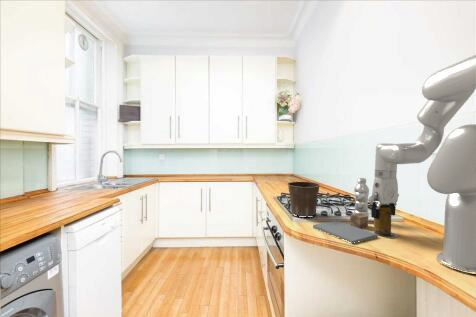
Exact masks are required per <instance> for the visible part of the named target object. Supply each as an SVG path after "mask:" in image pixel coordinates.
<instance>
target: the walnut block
mask: <svg viewBox="0 0 476 317" xmlns="http://www.w3.org/2000/svg"><path fill="white" fill-rule="evenodd" d="M349 225H351V226H354V227H357V228H360V229H366V228H369V218H368V216H366V215H362V214H359V213H357V214H354V213H352V214H349Z"/></svg>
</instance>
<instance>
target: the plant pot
mask: <svg viewBox="0 0 476 317" xmlns="http://www.w3.org/2000/svg"><path fill="white" fill-rule="evenodd" d="M286 185H287V186H288V187H287V188H288V192H289V203H290V214H291V213H292V214H295V215H298V216H306V217H308V216H313V215H314V214H315V213H317V204H318V194H319V193H320V192H319V190H320V187H321V184H320V183H318V182H313V181H292V182H290V181H289V182H287V184H286ZM292 214H291V215H292ZM298 216H297V217H298Z"/></svg>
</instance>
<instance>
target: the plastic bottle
mask: <svg viewBox="0 0 476 317" xmlns="http://www.w3.org/2000/svg"><path fill="white" fill-rule="evenodd" d="M366 183H367V178H366V177H365V178H364V177H358V178H357V183H356V185H355V187H354V188H353V189H354V199H355V200H354V202H355V203H354V211H353V214H357V213H359V214H362V215H366V216H368V219H369V217H370V212H369V206H368V202H369V195H370V188H369V187H368V185H367V184H366Z"/></svg>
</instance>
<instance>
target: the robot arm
mask: <svg viewBox="0 0 476 317" xmlns="http://www.w3.org/2000/svg"><path fill="white" fill-rule="evenodd" d="M475 90H476V54H474V55H472V56H469V57H467V58H465V59H463V60H460V61H459V62H455V63H454V64H452V65H448V66H447V67H444V68H442V69H439V70H437V71H436V72H433V73H432V74H431V75H430V76H429V77H428V78H426V80H425V81H424V83H423V85H422V88H421V93H422V97H424V99H426V100H427V101H426V103H424V105H423V107H422V108H421V109H420V110H419V112H418V113H417V116H416V118H417V120H418V122H420V124H421V125H423V130H422V132H421V134H420V136H419V137H418V139H416V140H415V142H412V143H378V144H376V146H375V156H374V157H375V160H374V162H375V164H374V179H373V182H372V183H373V184H372V190H371V191H372V192H371V195H370V197H368V202H369V205H370V208H371V214H370V215H371V218H373V219H374V218H376V219H380V209H379V208H380V206H381V204H384V205H385V204H389V205H390V206H391V207H390V209H391V216H396V210H397V209H396V207H397V203H398V201H399V197H400V193H399V186H398V185H399V184H398V178H397V176H398V175H397V171H398V165H409V164H421V163H423V162H425V161H427V159H429V158H430V157H431V156H432V155H433V154H434V152H436V150H437V149H438V151H437V153H436V155H435V156H434V158H433V160H432V162H431V163H430V166H429V168H428V169H427V173H426V181H427V183H428V186H429V187H430V188H431V189H432V190H433V191H435V192H436V193H438V194H443V195H447V196H446V199H445V206H444V225H443V226H444V227H443V250H442V252H439V253H437V254H436V260H437V259H438V260H439V261H440V262H442V263H444V264H446V265H448V266H451V267H453V268H456V269H459V270H462V271H467V272H475V273H476V123H474V124H470V123H469V124H464V125H460V126H459V127H457V128H455V129H453V130H452V131H451V132H449V133H448V134H447V136H446V137H445V139H444V140H443V138H444V134H445V127H446V126H447V125H448V123H450V122H451V120H452V119H453V117H455V115H456V114H457V113H458V112H459V110H461V108H462V107H463V106H464V104H466V103H467V101H468V100H469V99H470V98H471V97H472V95H473V94H474V93H475ZM442 140H443V142H442ZM440 145H441V146H440ZM439 146H440V147H439ZM377 203H378V204H377ZM376 204H377V205H376ZM438 260H437V261H438ZM440 262H439V263H440Z"/></svg>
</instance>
